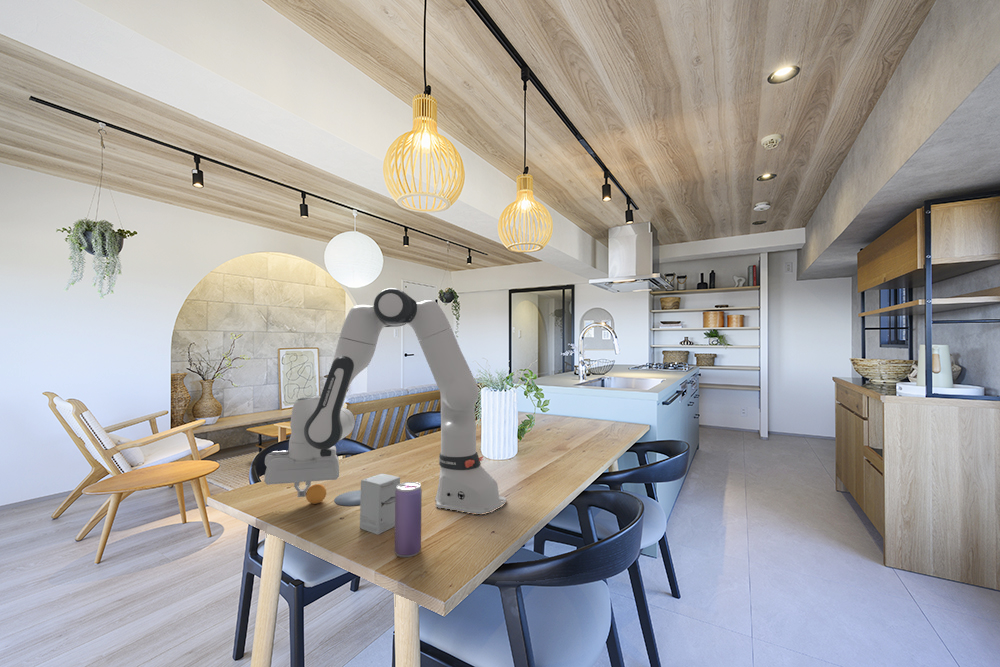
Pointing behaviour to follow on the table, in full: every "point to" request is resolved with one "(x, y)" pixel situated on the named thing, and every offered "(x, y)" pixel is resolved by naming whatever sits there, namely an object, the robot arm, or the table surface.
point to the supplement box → (378, 503)
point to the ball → (316, 493)
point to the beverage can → (408, 519)
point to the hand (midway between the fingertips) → (301, 496)
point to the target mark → (349, 498)
